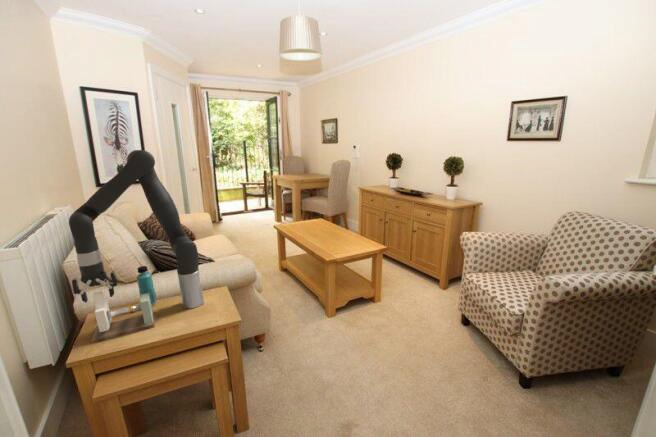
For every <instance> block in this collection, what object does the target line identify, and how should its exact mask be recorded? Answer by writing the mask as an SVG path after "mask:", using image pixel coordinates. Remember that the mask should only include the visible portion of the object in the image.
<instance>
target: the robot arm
mask: <svg viewBox="0 0 656 437" xmlns="http://www.w3.org/2000/svg"><path fill="white" fill-rule="evenodd" d="M155 159H156V158H154V156H153V154H152V153H150V152H149V151H147V150H144V149H143V150H142V149H135V150H134V149H133V150H132V151H131V152H129V153H128V154H127V157H126V163H125V165H124V166H123V167H122V168H121V170H120V171H119V172H118V173H117V174H116V175H114V177H113V176H112V178H111V179H110V180H107V182H106V183H104V184H103V185H102V186H101V187H99V188H98V189H97V190H96V191H95V192H94V193H93V194H92V195H91V196H90V197H89V198H88V199H87V200H86V202H84V203H83V204H82V205H80V206H79V207H78V208H77V209H76V210H75V211H73V213H71V215H70V217H69V219H68V225H69V229H70V230H69V231H70V232H71V235H72V239H73V241H74V242H73V243H74V248H75V252H76V260H77V265H78V268H79V272H80V276H81V277H73V279H72V280H71V284H72V285H71V286H72V290H73V291H72V292H73V294H74V295H80V298H81V300H82V302H84V303H88V301H89V299H88V295H87V294H88V293H87V291H86V290H87V289H88V288H89V287H91V288H92V287H95V286H97V287H98V286H104V287H106V288H108V294H109V297H110V298H112V297H114V295H115V288H114V287H117V286H118V284H119V283H118V278H117V276H116V272H115V270H111V271H110V272H106V270H105V267H104V263H103V257H102V254H101V250H100V247H99V243H98V240H97V238H96V233H95V228H94V222H95V220H96V219H97V218H98V217H99V216H100V215H101V214H103V213H105V212H107V211H108V210H109V209H110V208H111V207H112V205H113V204H114V203H116V201H118V199H119V198H120V197H121V196H122V195H123V194H124V193H125V192H126V191H127V190H128V189H129V188H130V187H131V186H132V185H133V184H134V183H135V182H136V181H138V182H139V184H140V186H141V188H142V190H143V193H144V195H145V198H146V201H147V203H148V205H149V207H150V210H151V211H152V213H153V215H154V217H155V218H156V220H157V222H158V223H159V225H160V227H161V228H162V229H163V231H164V233H165V234H166V236H167V240H168V242H169V244H170V247H171V250H172V252H173V254H175V257H176V263H177V267H176V272H177V277H178V283H179V289H180V294H181V295H180V297H181V302H182V307H183V308H184V309H195V308H197V307H200V306H202V305H204V304H205V301H204V295H203V293H204V292H203V287H202V282H201V276H200V271H199V264H200V262H199V254H198V252H199V251H198V246H197V245H196V243H195V242H194V241H193V240H192V239H190V238H189V236H188V235H187V234H186V232H185V230H184V228H183V226H182V224H181V219H180V214H179V211H178V208H177V207H176V204H175V202H174V199H173V198H172V197H171V194H170V193H169V191H168V190H167V188H165V185H164V184H163V183H162V182H161V180H160V178H159V177H158V174H157V172H156V169H155V165H156V160H155ZM107 277H109V278H110V279H111V281H112V283H111V282H110V281H109V280H108V279H106V278H107ZM80 282H82V283H83V284H84V286H83V287H82V288H81V289H79V288H80V287H79V284H80Z"/></svg>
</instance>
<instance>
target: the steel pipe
mask: <svg viewBox="0 0 656 437" xmlns="http://www.w3.org/2000/svg"><path fill="white" fill-rule="evenodd" d="M138 311H142V309H141V304H140V303H139V304H135V305H129V306H128V307H124V308H120V309H113V310H110V312H107V313H106V314H107V318H110V317H111V318H114V317H118V316H122V315H126V314H132V313H134V312H138ZM94 316H95V320H96V322H97V319H96V315H94Z"/></svg>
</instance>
